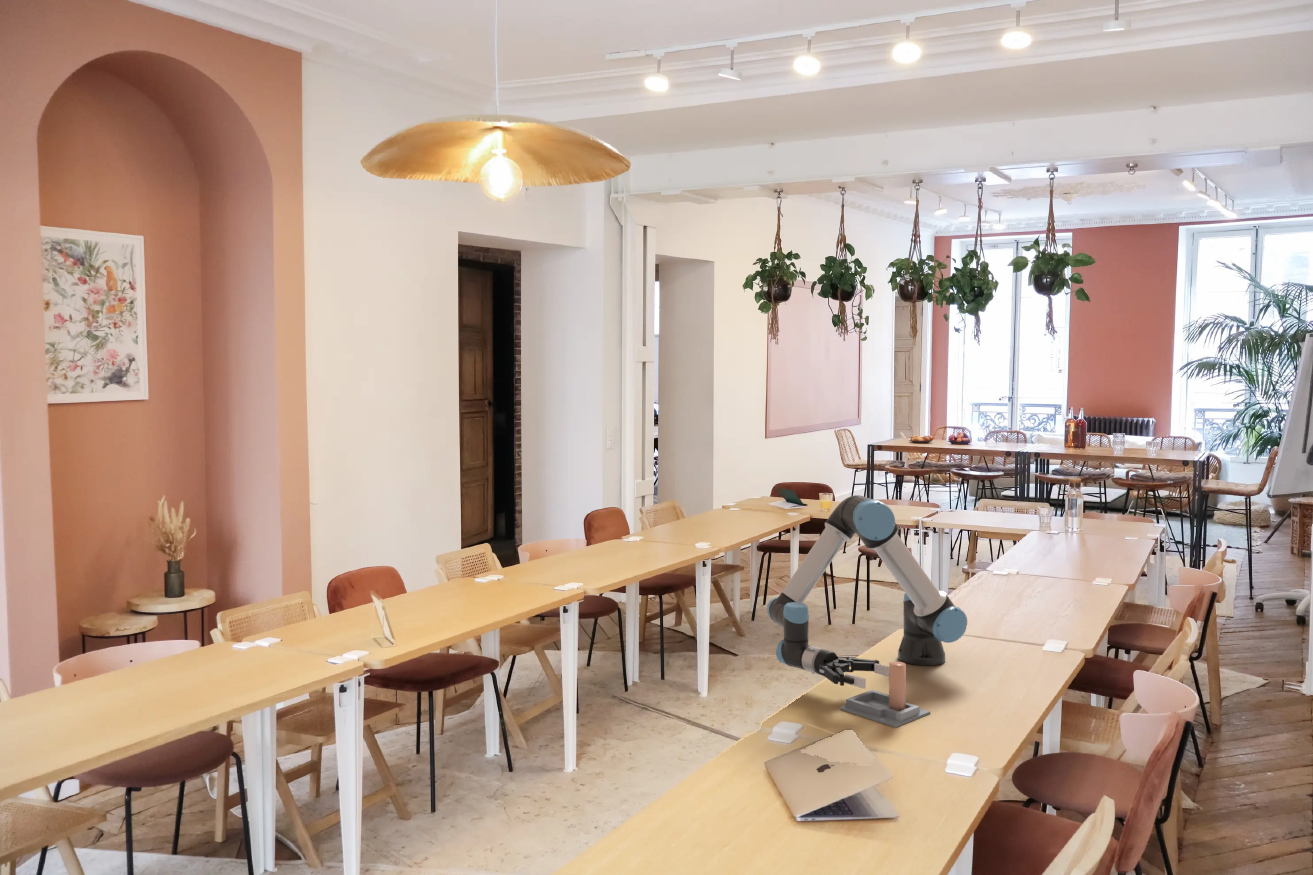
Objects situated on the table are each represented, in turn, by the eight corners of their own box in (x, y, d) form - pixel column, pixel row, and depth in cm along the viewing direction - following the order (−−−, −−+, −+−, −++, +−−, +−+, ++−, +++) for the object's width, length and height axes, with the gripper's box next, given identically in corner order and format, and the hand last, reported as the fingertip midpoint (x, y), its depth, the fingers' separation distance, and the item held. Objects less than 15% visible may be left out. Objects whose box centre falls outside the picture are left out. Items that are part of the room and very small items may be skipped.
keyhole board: (875, 696, 288) (875, 687, 288) (930, 713, 274) (930, 704, 273) (840, 709, 278) (840, 700, 278) (895, 727, 263) (895, 718, 263)
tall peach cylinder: (895, 709, 276) (895, 660, 275) (908, 713, 272) (909, 664, 271) (885, 712, 273) (885, 663, 272) (899, 717, 269) (899, 667, 268)
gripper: (847, 664, 301) (905, 681, 285) (793, 683, 285) (851, 701, 269) (847, 641, 300) (905, 656, 284) (793, 657, 284) (852, 674, 268)
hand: (879, 678), depth 277 cm, fingers open, 13 cm apart
